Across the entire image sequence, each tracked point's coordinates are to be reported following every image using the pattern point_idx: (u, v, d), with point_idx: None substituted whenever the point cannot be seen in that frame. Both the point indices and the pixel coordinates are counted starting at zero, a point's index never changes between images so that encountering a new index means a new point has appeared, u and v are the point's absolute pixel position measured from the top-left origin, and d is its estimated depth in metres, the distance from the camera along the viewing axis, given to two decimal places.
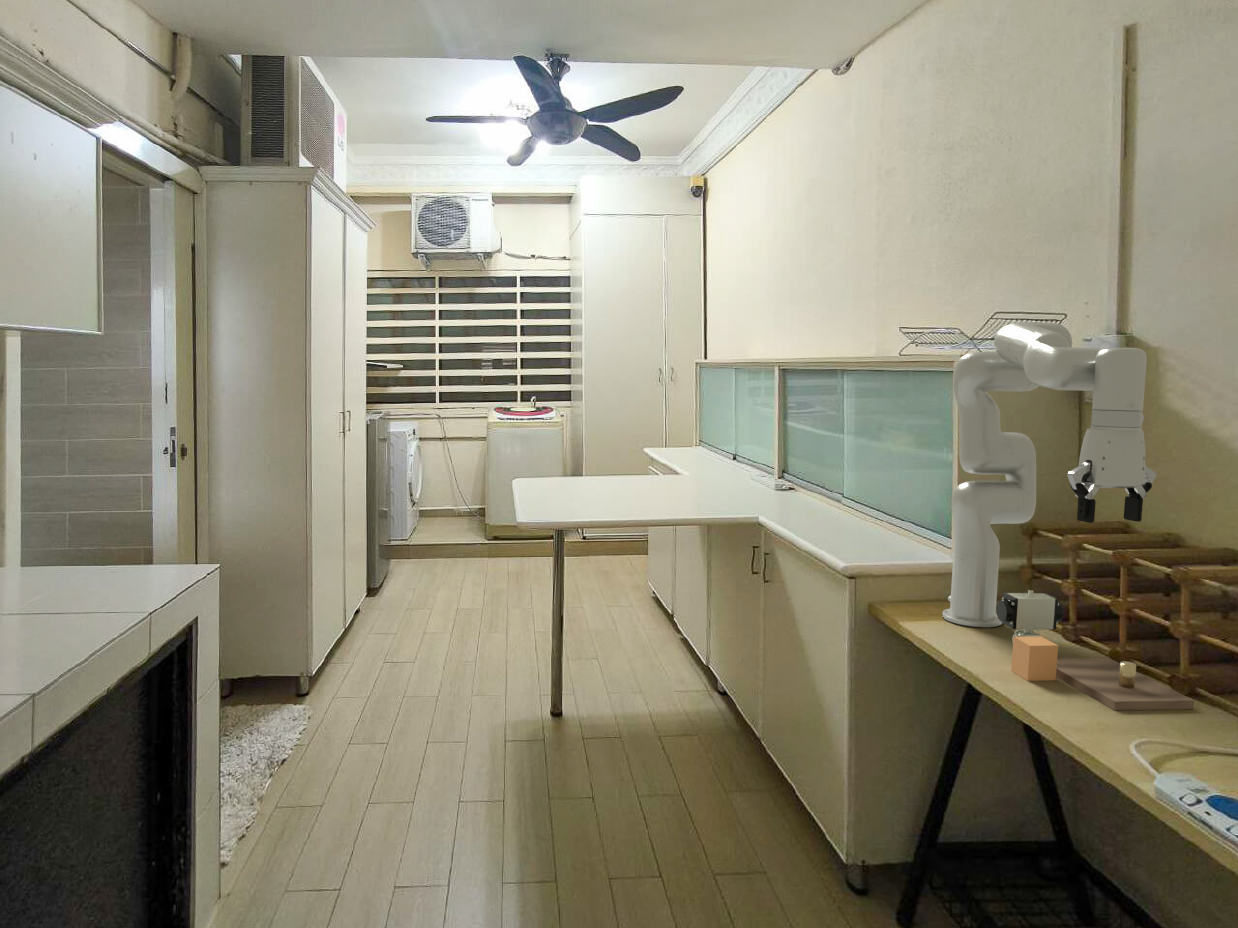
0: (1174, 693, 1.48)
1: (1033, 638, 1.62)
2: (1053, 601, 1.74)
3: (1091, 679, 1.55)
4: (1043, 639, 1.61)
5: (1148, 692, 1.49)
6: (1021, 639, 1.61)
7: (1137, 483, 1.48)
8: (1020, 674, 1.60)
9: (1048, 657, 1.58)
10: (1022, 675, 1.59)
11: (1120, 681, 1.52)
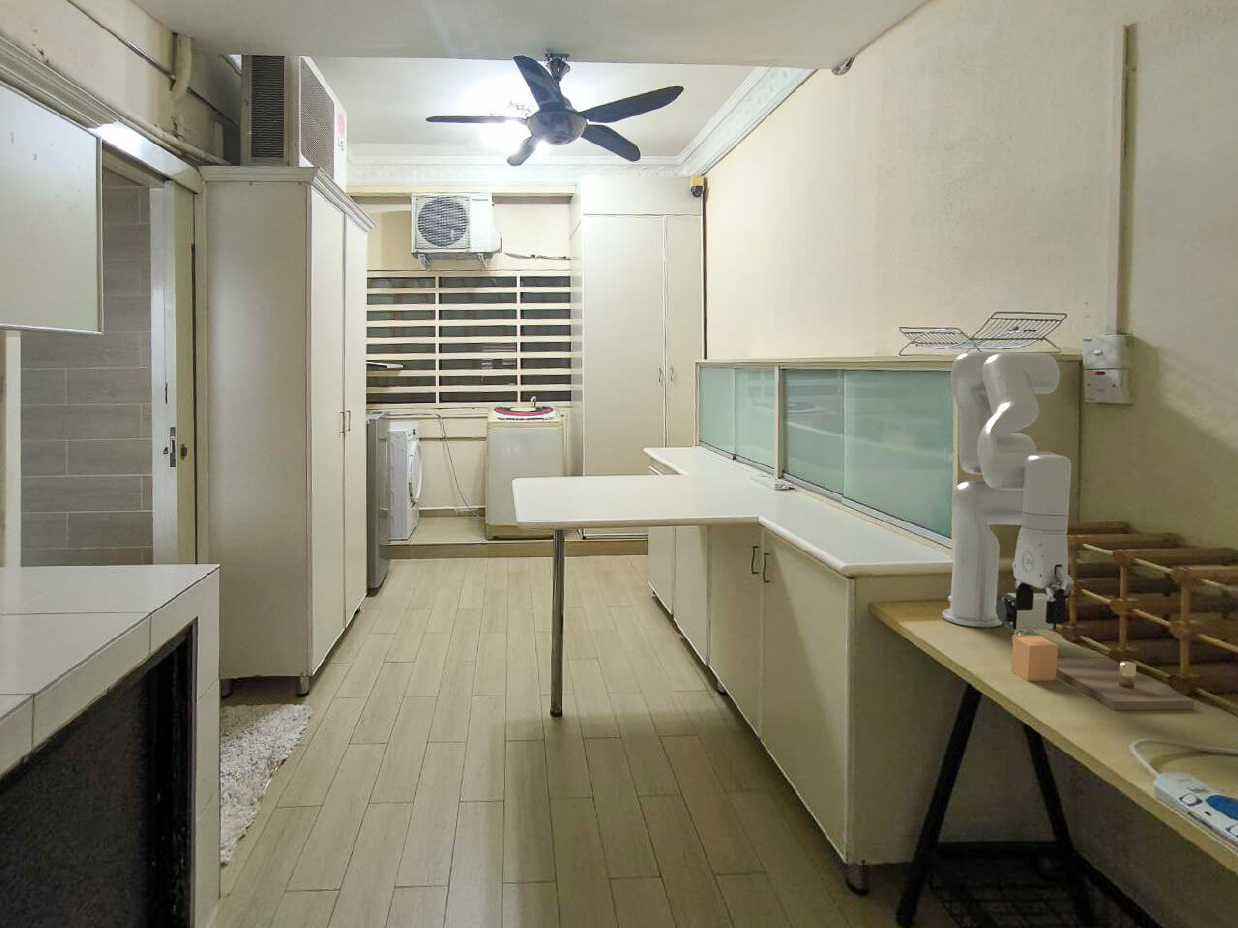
0: (1174, 693, 1.48)
1: (1033, 638, 1.62)
2: None
3: (1091, 679, 1.55)
4: (1043, 639, 1.61)
5: (1148, 692, 1.49)
6: (1021, 639, 1.61)
7: None
8: (1020, 674, 1.60)
9: (1048, 657, 1.58)
10: (1022, 675, 1.59)
11: (1120, 681, 1.52)
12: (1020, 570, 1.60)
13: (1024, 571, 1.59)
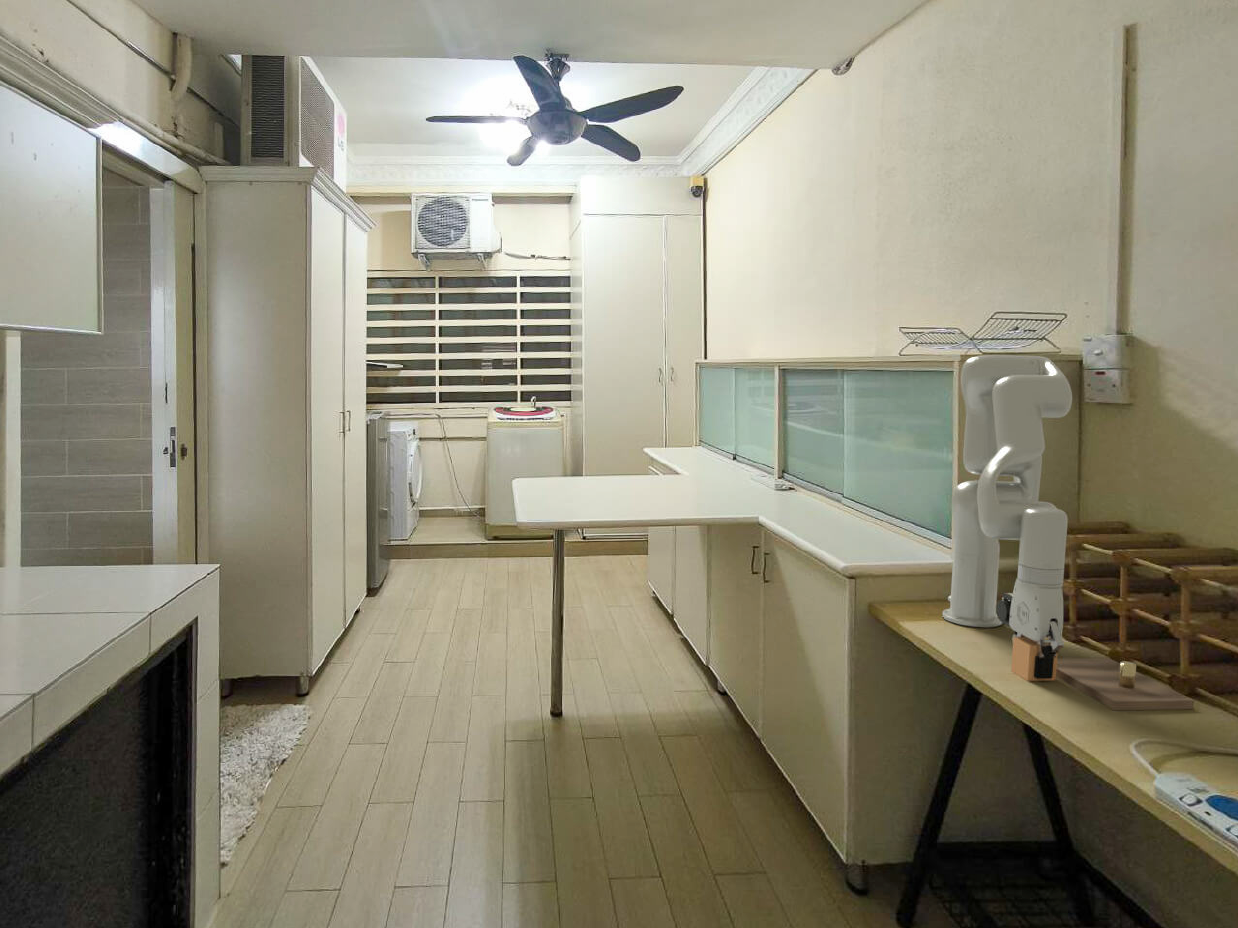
0: (1174, 693, 1.48)
1: None
2: None
3: (1091, 679, 1.55)
4: None
5: (1148, 692, 1.49)
6: (1021, 639, 1.61)
7: None
8: (1020, 674, 1.60)
9: None
10: (1022, 675, 1.59)
11: (1120, 681, 1.52)
12: (1016, 621, 1.62)
13: (1020, 622, 1.60)
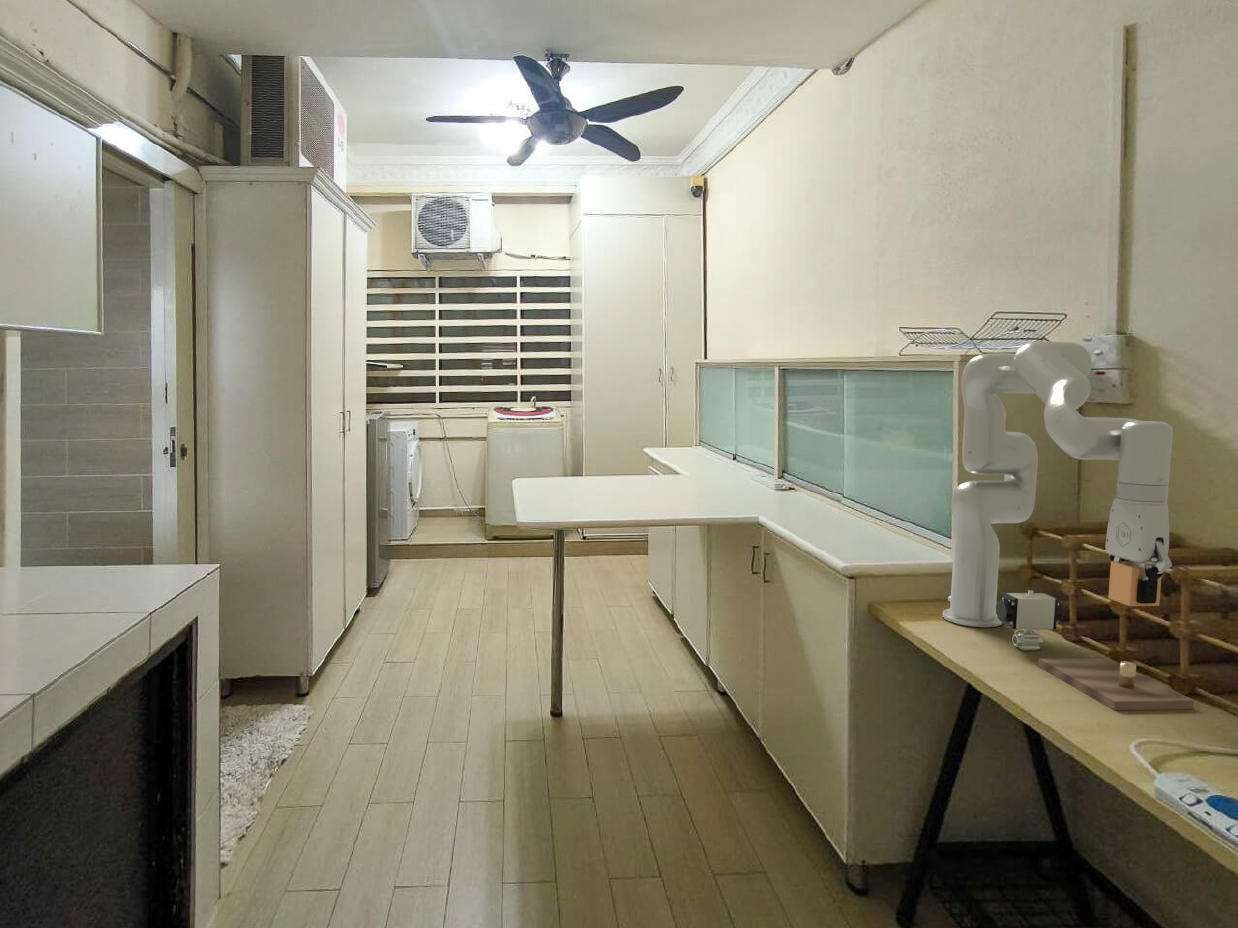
0: (1174, 693, 1.48)
1: (1132, 562, 1.51)
2: (1053, 601, 1.74)
3: (1091, 679, 1.55)
4: None
5: (1148, 692, 1.49)
6: (1120, 563, 1.50)
7: None
8: (1120, 600, 1.50)
9: None
10: (1122, 601, 1.49)
11: (1120, 681, 1.52)
12: (1114, 544, 1.51)
13: (1120, 545, 1.50)
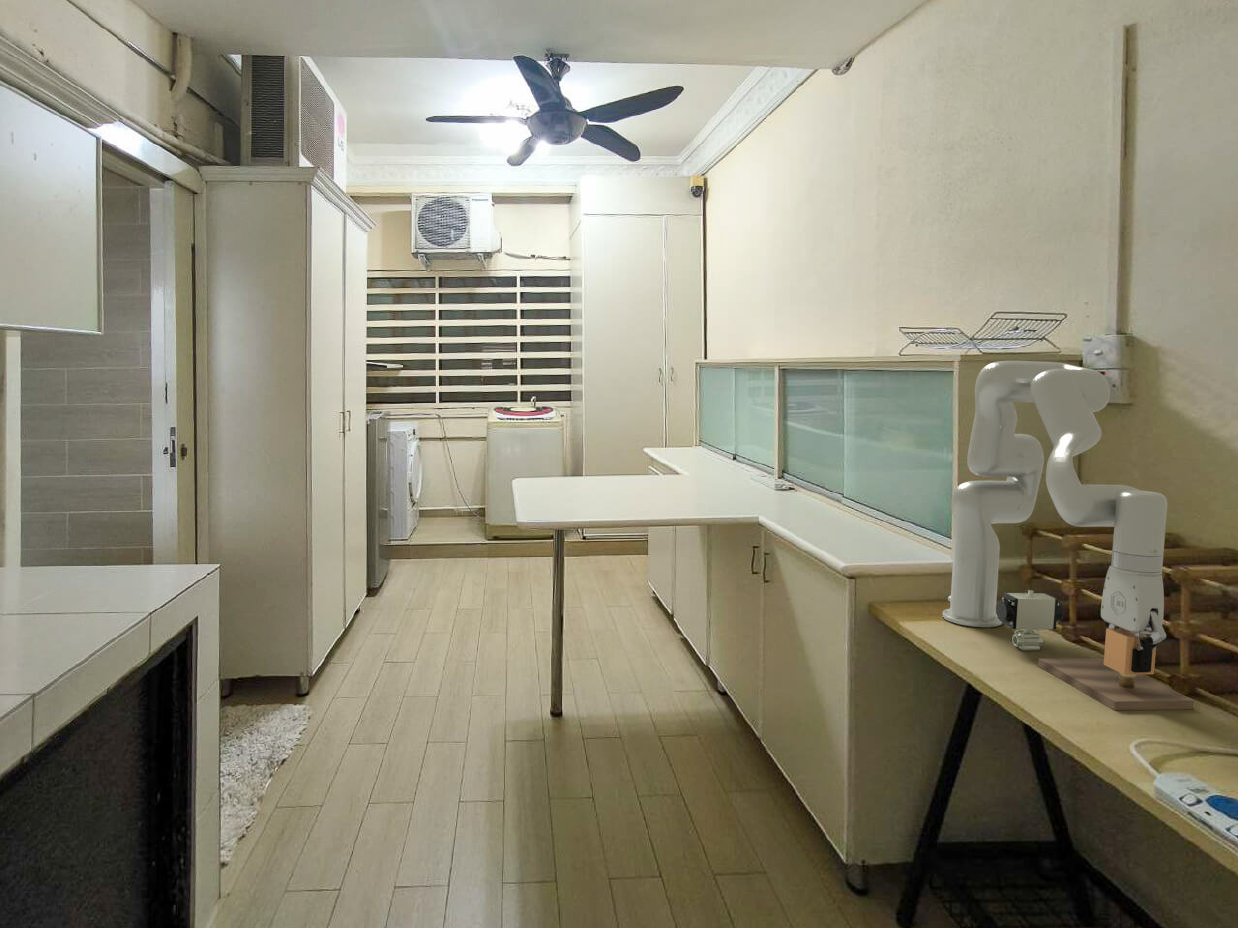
0: (1174, 693, 1.48)
1: None
2: (1053, 601, 1.74)
3: (1091, 679, 1.55)
4: None
5: (1148, 692, 1.49)
6: (1115, 631, 1.52)
7: None
8: (1115, 668, 1.51)
9: None
10: (1117, 669, 1.50)
11: (1120, 681, 1.52)
12: (1109, 611, 1.52)
13: (1115, 613, 1.51)
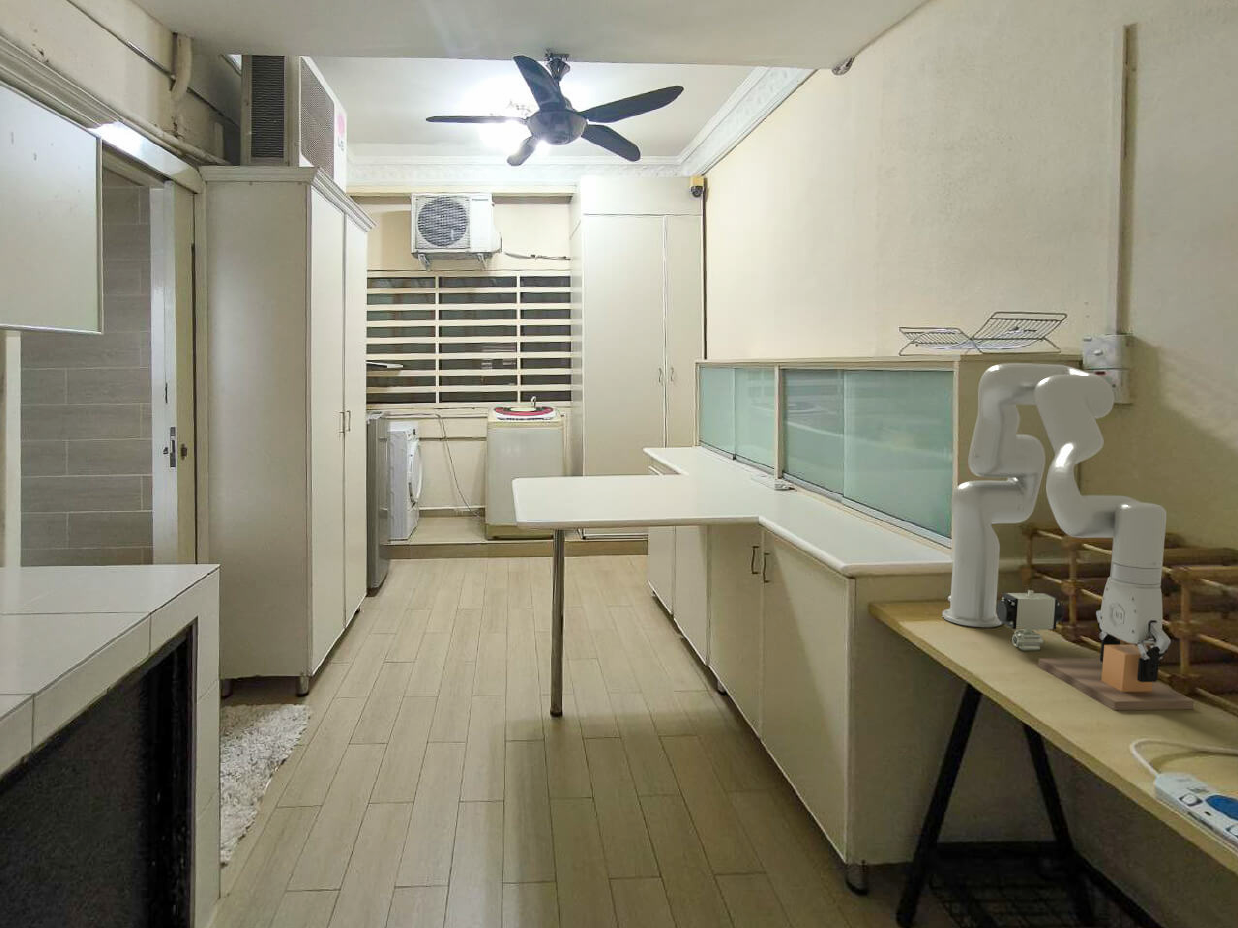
0: (1174, 693, 1.48)
1: (1125, 646, 1.53)
2: (1053, 601, 1.74)
3: (1091, 679, 1.55)
4: (1136, 647, 1.52)
5: (1148, 692, 1.49)
6: (1113, 647, 1.52)
7: None
8: (1113, 684, 1.51)
9: None
10: (1115, 686, 1.51)
11: None
12: (1108, 622, 1.53)
13: (1113, 624, 1.51)
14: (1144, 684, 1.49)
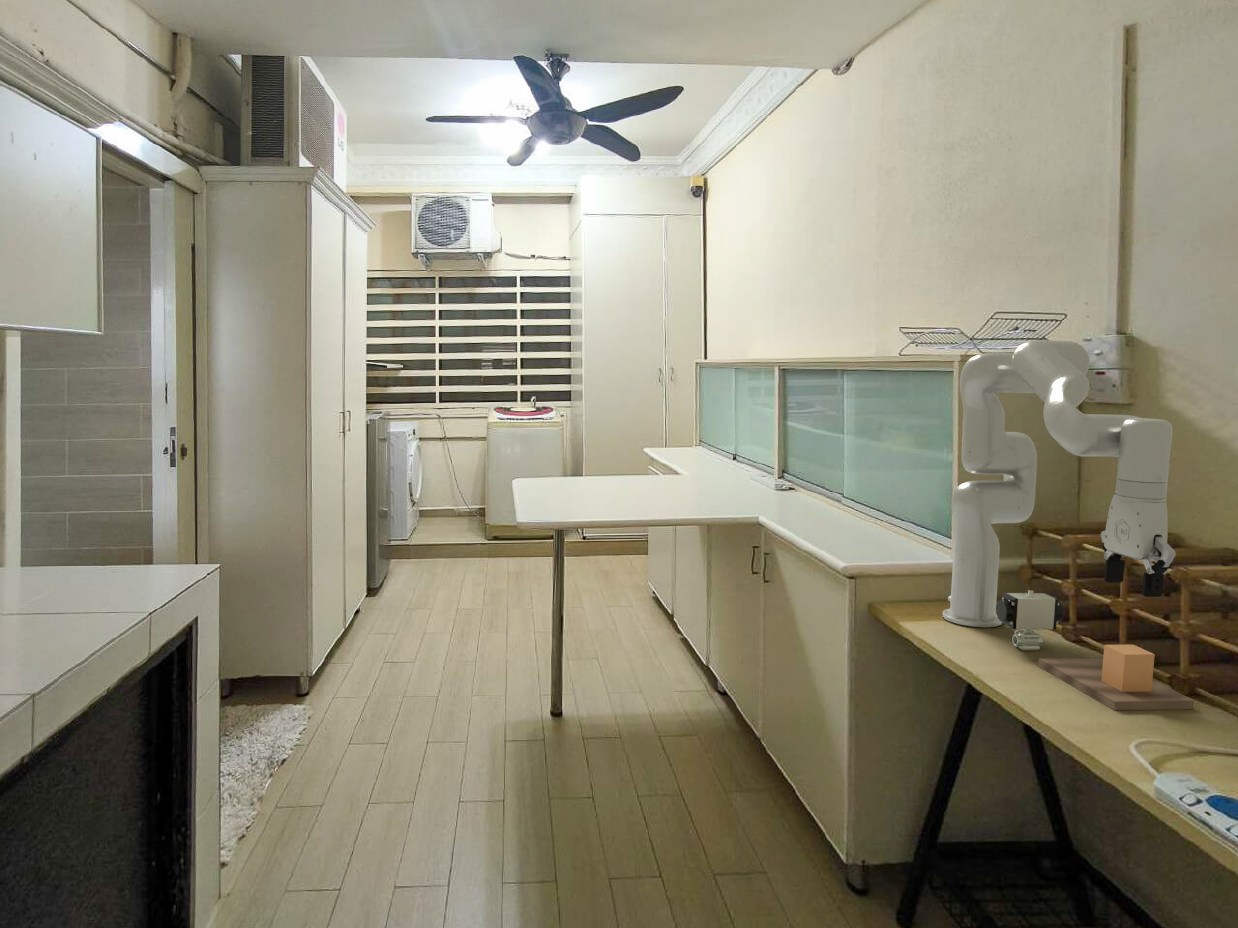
0: (1174, 693, 1.48)
1: (1125, 646, 1.53)
2: (1053, 601, 1.74)
3: (1091, 679, 1.55)
4: (1136, 647, 1.52)
5: (1148, 692, 1.49)
6: (1113, 647, 1.52)
7: None
8: (1113, 684, 1.51)
9: (1144, 667, 1.49)
10: (1115, 686, 1.51)
11: None
12: (1113, 540, 1.52)
13: (1118, 541, 1.50)
14: (1144, 684, 1.49)
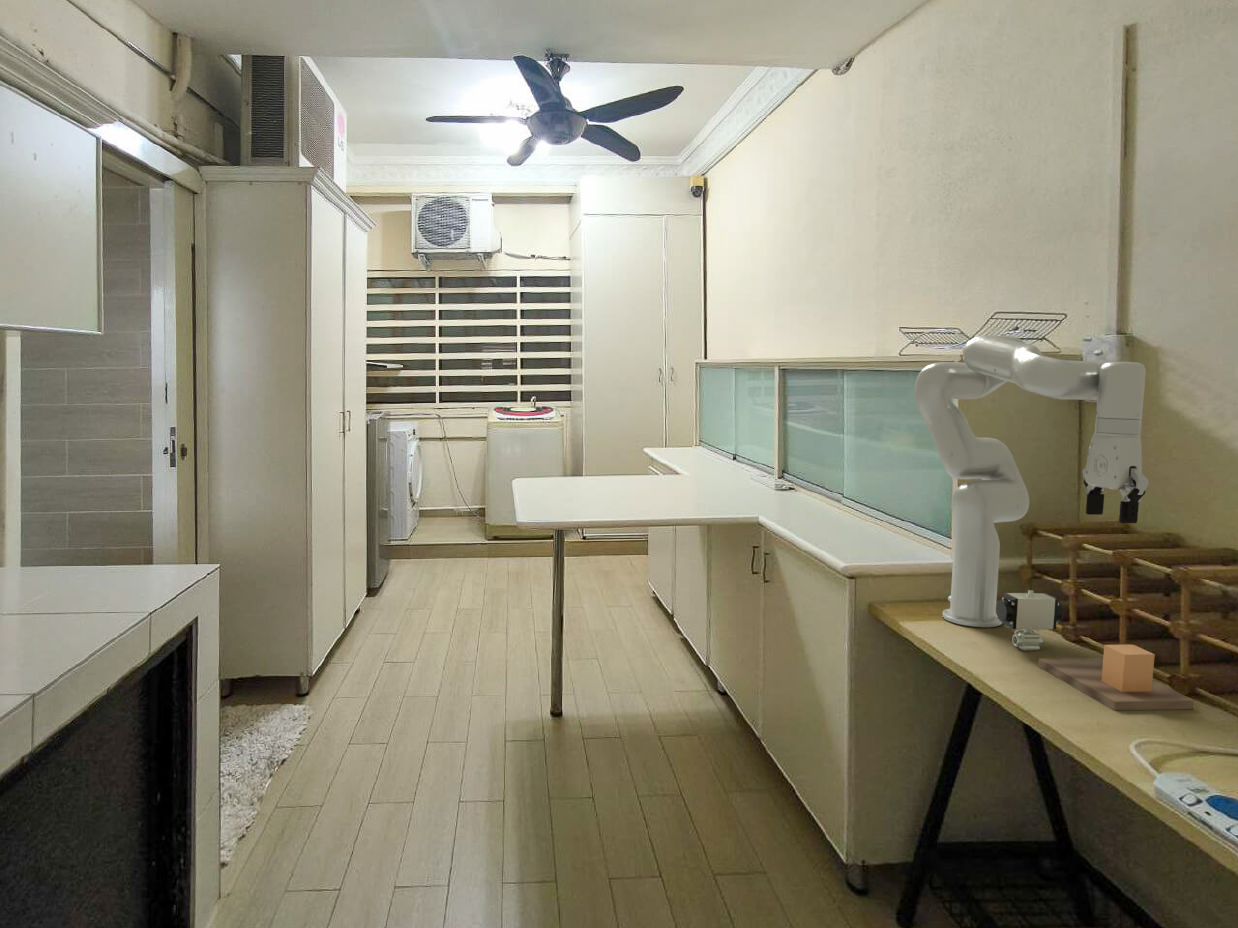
0: (1174, 693, 1.48)
1: (1125, 646, 1.53)
2: (1053, 601, 1.74)
3: (1091, 679, 1.55)
4: (1136, 647, 1.52)
5: (1148, 692, 1.49)
6: (1113, 647, 1.52)
7: None
8: (1113, 684, 1.51)
9: (1144, 667, 1.49)
10: (1115, 686, 1.51)
11: None
12: (1093, 474, 1.67)
13: (1097, 475, 1.65)
14: (1144, 684, 1.49)
